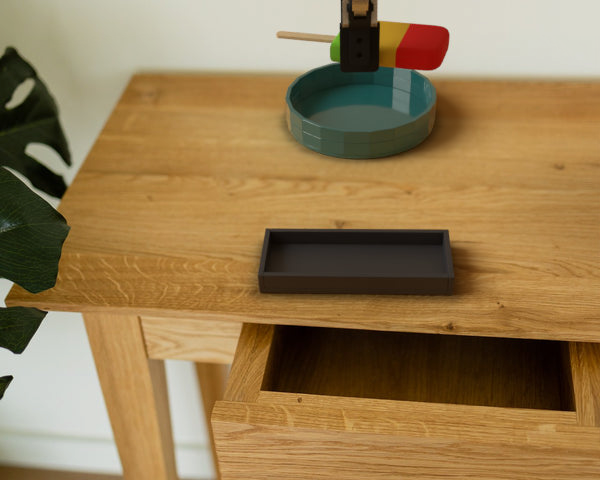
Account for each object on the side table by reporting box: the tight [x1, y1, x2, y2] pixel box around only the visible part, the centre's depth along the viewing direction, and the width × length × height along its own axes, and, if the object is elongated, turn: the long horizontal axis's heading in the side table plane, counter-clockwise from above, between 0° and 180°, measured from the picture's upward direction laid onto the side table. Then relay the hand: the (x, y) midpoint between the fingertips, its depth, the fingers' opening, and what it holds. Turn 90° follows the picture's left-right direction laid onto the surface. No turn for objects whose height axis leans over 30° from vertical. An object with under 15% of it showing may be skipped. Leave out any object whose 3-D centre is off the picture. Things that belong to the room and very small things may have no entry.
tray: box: [257, 227, 455, 296], centre depth 71 cm, size 17×7×2 cm, turn 86°
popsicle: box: [275, 20, 451, 72], centre depth 65 cm, size 6×15×2 cm, turn 72°
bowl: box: [284, 62, 437, 160], centre depth 91 cm, size 18×18×4 cm
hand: (359, 50), depth 66 cm, fingers closed on popsicle, 6 cm apart
